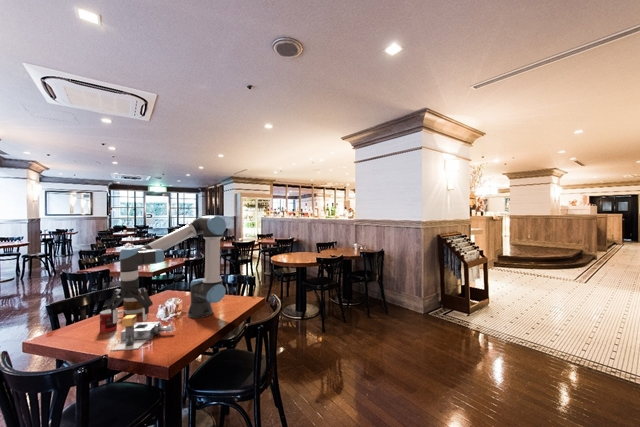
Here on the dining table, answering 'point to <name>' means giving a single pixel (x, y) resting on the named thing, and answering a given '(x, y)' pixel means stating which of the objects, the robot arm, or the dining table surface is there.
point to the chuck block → (146, 330)
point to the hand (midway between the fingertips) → (130, 321)
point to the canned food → (107, 322)
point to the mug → (132, 306)
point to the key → (129, 328)
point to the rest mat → (122, 346)
